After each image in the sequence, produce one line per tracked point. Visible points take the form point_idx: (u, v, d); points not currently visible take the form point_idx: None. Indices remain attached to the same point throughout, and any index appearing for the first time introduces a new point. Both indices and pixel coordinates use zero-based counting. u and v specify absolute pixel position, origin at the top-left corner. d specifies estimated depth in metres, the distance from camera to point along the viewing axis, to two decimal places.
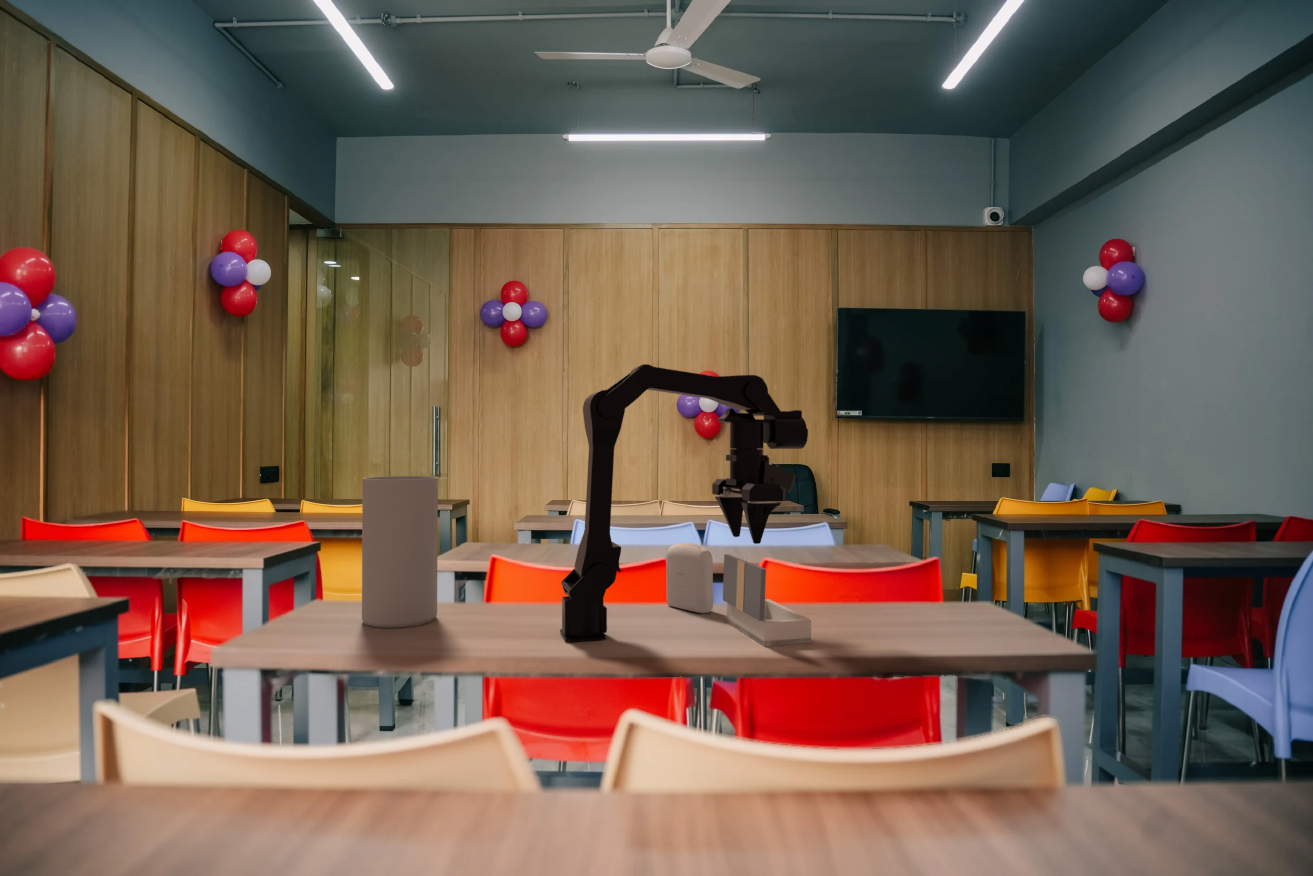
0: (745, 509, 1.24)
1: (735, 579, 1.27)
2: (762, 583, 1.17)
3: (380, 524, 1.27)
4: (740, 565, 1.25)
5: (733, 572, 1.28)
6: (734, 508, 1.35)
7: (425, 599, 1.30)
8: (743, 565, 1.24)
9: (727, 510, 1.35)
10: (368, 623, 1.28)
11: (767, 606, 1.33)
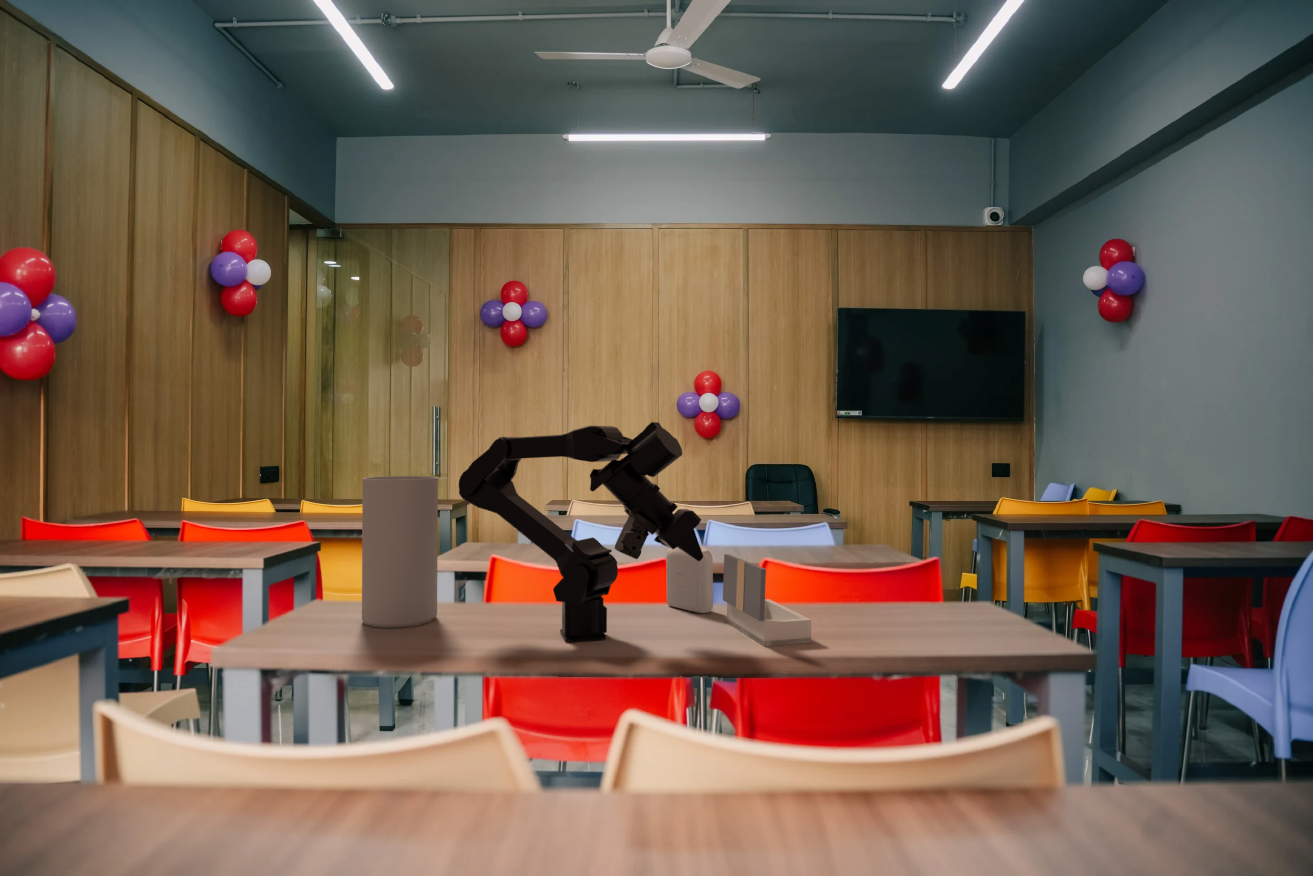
0: None
1: (735, 579, 1.27)
2: (762, 583, 1.17)
3: (380, 524, 1.27)
4: (740, 565, 1.25)
5: (733, 572, 1.28)
6: None
7: (425, 599, 1.30)
8: (743, 565, 1.24)
9: None
10: (368, 623, 1.28)
11: (767, 606, 1.33)
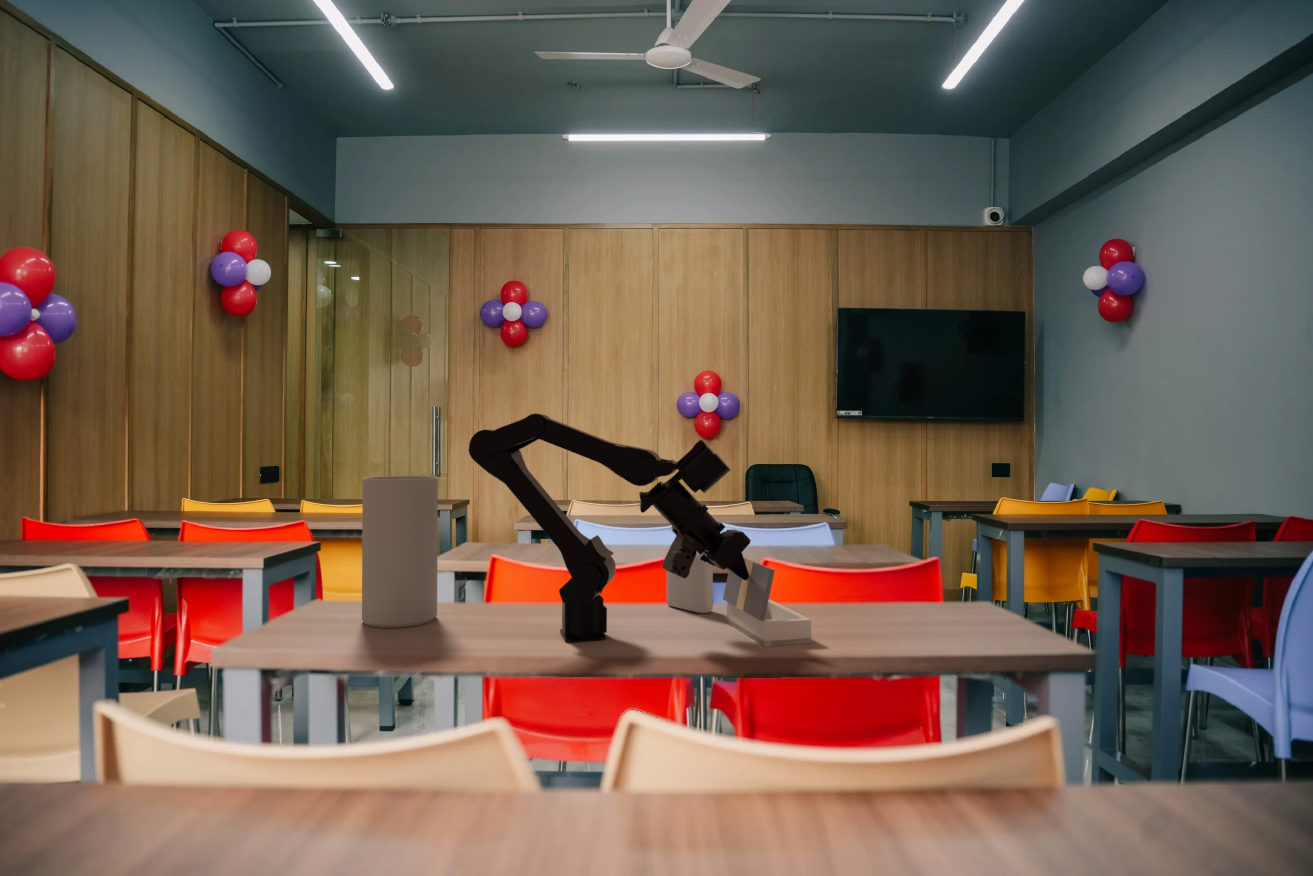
0: None
1: (740, 579, 1.27)
2: (768, 583, 1.18)
3: (380, 524, 1.27)
4: (748, 565, 1.25)
5: None
6: None
7: (425, 599, 1.30)
8: (751, 564, 1.24)
9: None
10: (368, 623, 1.28)
11: (767, 606, 1.33)
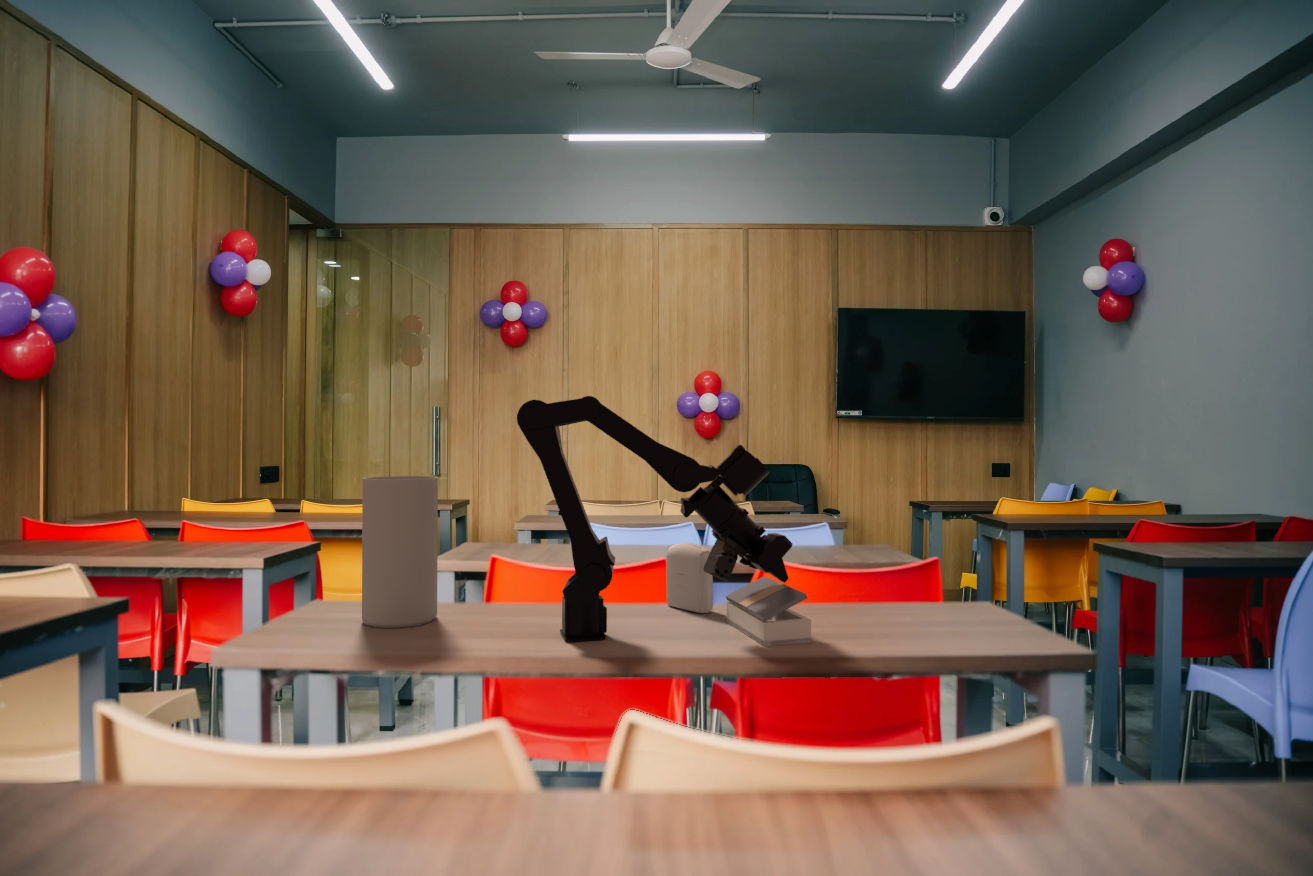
0: None
1: (760, 590, 1.28)
2: (794, 601, 1.19)
3: (380, 524, 1.27)
4: (779, 585, 1.27)
5: (763, 587, 1.30)
6: None
7: (425, 599, 1.30)
8: (784, 586, 1.26)
9: None
10: (368, 623, 1.28)
11: None
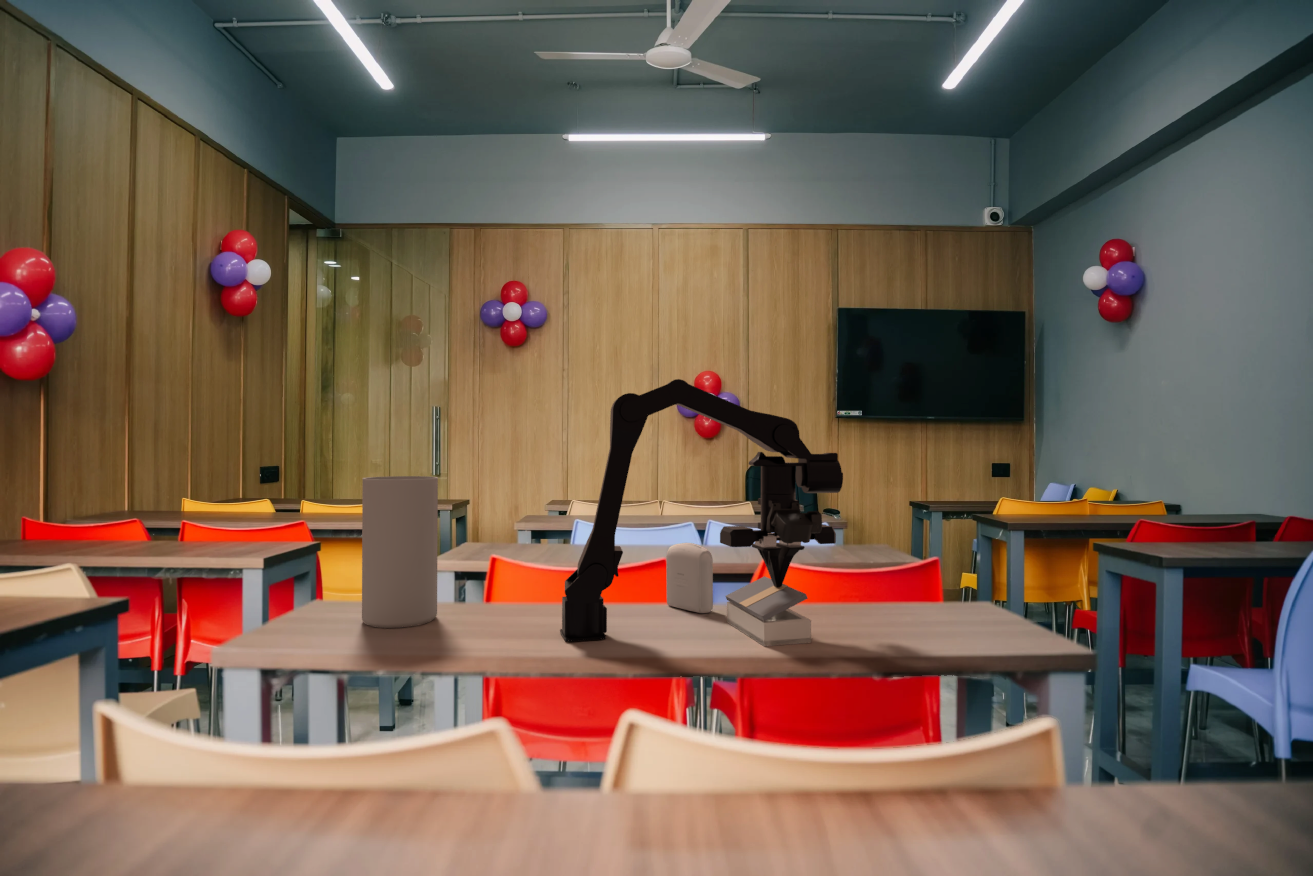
0: None
1: (760, 590, 1.28)
2: (794, 601, 1.19)
3: (380, 524, 1.27)
4: None
5: (763, 587, 1.30)
6: (780, 556, 1.27)
7: (425, 599, 1.30)
8: (784, 586, 1.26)
9: None
10: (368, 623, 1.28)
11: None
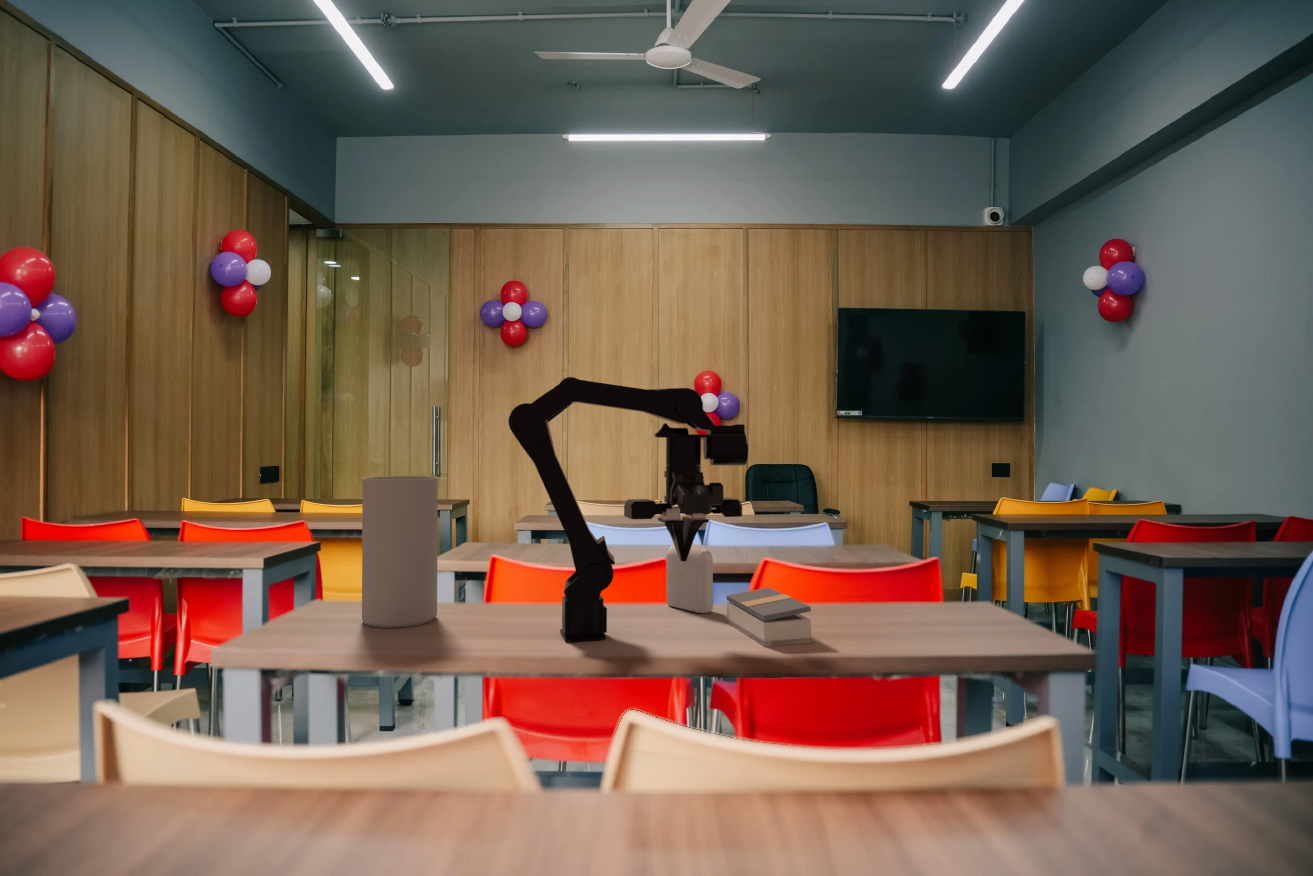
0: None
1: (763, 597, 1.29)
2: (797, 610, 1.19)
3: (380, 524, 1.27)
4: (783, 596, 1.27)
5: (766, 595, 1.30)
6: (685, 530, 1.25)
7: (425, 599, 1.30)
8: (788, 597, 1.26)
9: (682, 531, 1.26)
10: (368, 623, 1.28)
11: None
